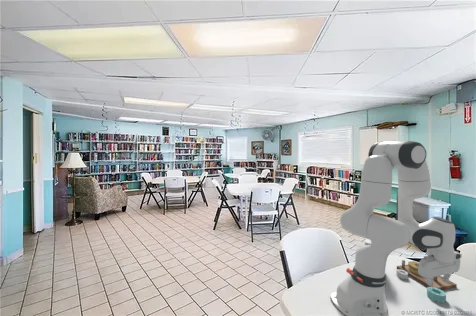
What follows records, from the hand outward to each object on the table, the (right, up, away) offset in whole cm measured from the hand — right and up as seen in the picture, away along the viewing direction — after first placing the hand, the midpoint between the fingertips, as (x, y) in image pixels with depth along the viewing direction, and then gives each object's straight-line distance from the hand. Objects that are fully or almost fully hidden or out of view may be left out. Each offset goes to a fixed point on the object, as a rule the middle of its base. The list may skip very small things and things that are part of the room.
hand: (437, 282), depth 99 cm
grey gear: (-5, -5, +15) cm, 17 cm away
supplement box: (-17, -5, +20) cm, 26 cm away
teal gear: (-1, -7, 0) cm, 7 cm away
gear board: (+7, -6, +15) cm, 17 cm away
